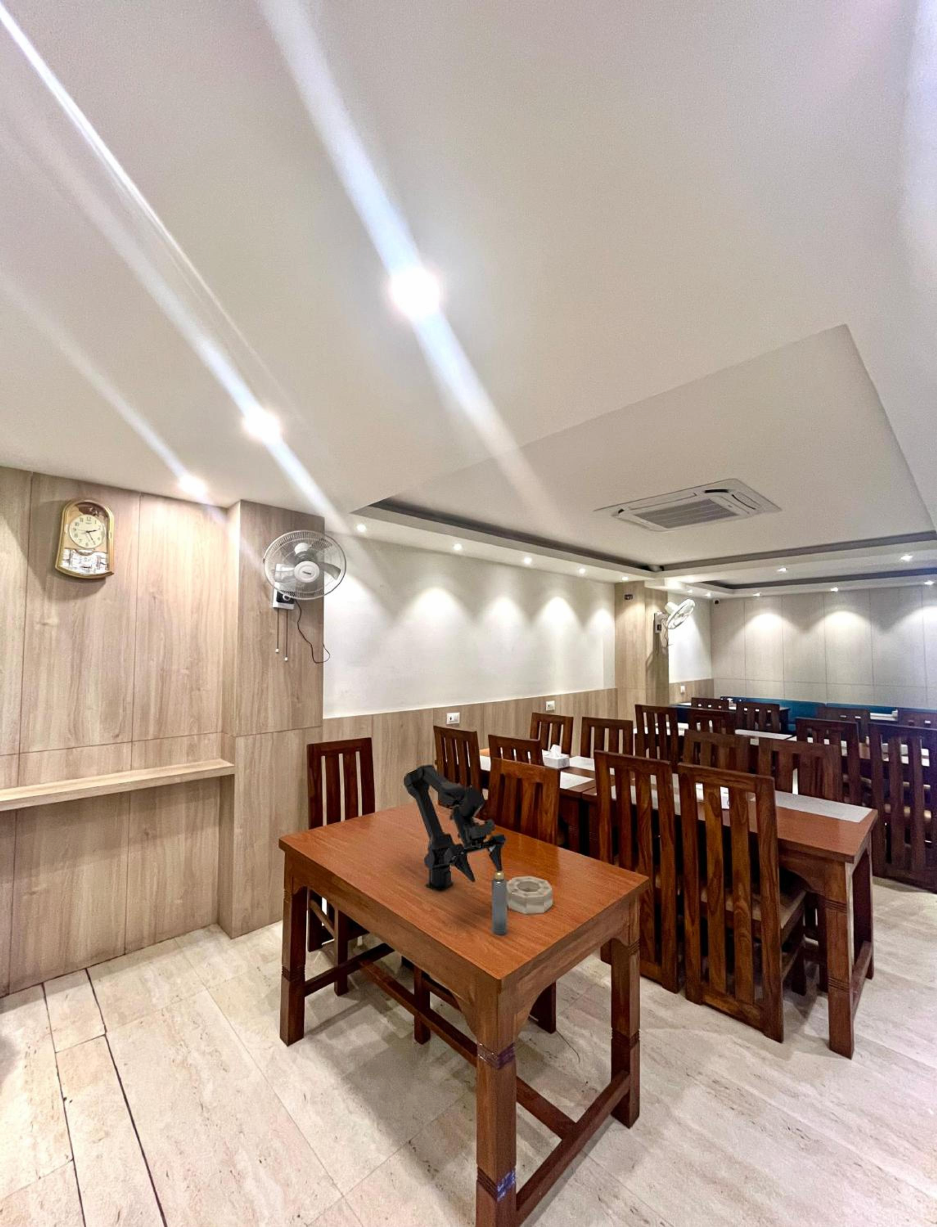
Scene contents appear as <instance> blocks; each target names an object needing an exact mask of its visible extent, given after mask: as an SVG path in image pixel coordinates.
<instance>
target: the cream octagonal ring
mask: <svg viewBox="0 0 937 1227" xmlns="http://www.w3.org/2000/svg"><path fill="white" fill-rule="evenodd" d="M552 906H553V888H552V886H551V885H550V883H549V882H548V881H547V880H546V879H542V878H538V877H535V876H532V875H529V876H519V877H518V876H517V877H513V878H511V879H510V880H508V881H507V907H508V908H509V909H510V910H513V911H514V912H518V913H521V914H524V915H533V914H543V913H546V911H547V910H548V909H550V908H551V907H552Z"/></svg>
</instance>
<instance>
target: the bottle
mask: <svg viewBox="0 0 937 1227" xmlns="http://www.w3.org/2000/svg"><path fill="white" fill-rule="evenodd" d="M507 882H508V881H507V879H506V878H505V877H504V871H503V870H502V871H497V870H496V871H494V877H492V879H491V926H492V927H491V931H492V933H493V934H494V935H497V936H503V935H506V934H507V933H508V904H507Z"/></svg>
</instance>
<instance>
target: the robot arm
mask: <svg viewBox="0 0 937 1227" xmlns="http://www.w3.org/2000/svg"><path fill="white" fill-rule="evenodd" d="M403 785H404V787H405V789H406V791H407V793H408V794H409V795H410V796H411V797H413V798H414V799H415V802H416V804H417V807H418V810H419V813H420V815H421V819H422V821H423V824H424V828H425V830H426V833H427V836H428V838H429V840H428V844H427V854H426V855H425V856H424V858H423V861H424V866H425V867H426V868H428V882H427V883H426V884H425V886H426V887H428V888H431V889H434V890H437V891H438V892H442V891H444V890H445V889H447V888H449V887H451V885H453V884H454V881H452V870H451V867H454V868H455V869H457V870H458V871H460V872H461V873H462V874H463V875H464V876H465V877H467V879H468V880H470V882H471V883H473V884H474V883H475V882H476V877H475V874H474V873H473V871H472V867H471V866H470V862H469V861H468V855H469V854H471V853H476V852H479V851H484V850H487V852H488V856H489V858H490V860H491V862H492V864H493V866H494V867H495V869H496V871H502V872H503V864H502V849H503V847H505V844H506V843H507V842H508V840H507V838H506V835H504V833H502V832H501V833H496V834H493V833H492V832H495V830H496V824H495V822H494V821H493V818H491V819H485V820H484V822H483V824H480V822H476V820H475V818H474V817H475V816H476V815H477V814H478V813H479V811H480V809H481V808H482V807H483V806H484V804H485V796H484V795H483V793H481V792H480V791H479V790H476V789H475V787H474V786H467V787H466V789H465V787H464V786H462V785H461V784H459V783H456V782H451V781H449V780H448V779H447V778H446V777H445V776H444V775H442V773H440V772H439V771H438V770H437V769H436V767H435V766H434V764H426V765H420V766H419V767H417V768H416V769H413V770H411V771H409V772H407V773H406V774H405V776H404V777H403ZM430 787H431V788H432V789H433V790H434V791H436V793H437V794H439V801H440V803H441V804H442V806H444V807H445V809H450V808H454V809H453V810H450V815H449V821H453V822H454V825H455V827H456V830H457V832H458V834H457V838H458V839H461V840H460V841H461V842H462V843H460V842H459V843H456V844H455V842H454V839H453V837H452V835H451V833H445V832H444V830H443V828H442V825H441V822H440V819H439V817H438V814H437V812H436V809H435V806H434V804H433V801H432V798H431V796H430V793H429V792H430V791H429V790H430ZM488 836H490V837H489V838H488V840H486V839H487V837H488ZM485 840H486V841H485Z"/></svg>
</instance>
